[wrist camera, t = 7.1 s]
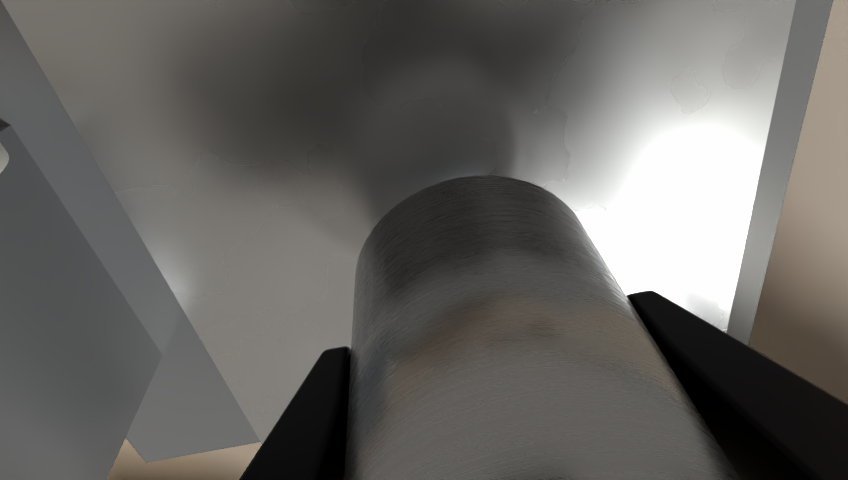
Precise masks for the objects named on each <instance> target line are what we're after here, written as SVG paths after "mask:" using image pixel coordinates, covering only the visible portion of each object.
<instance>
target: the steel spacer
mask: <svg viewBox="0 0 848 480" xmlns="http://www.w3.org/2000/svg"><path fill="white" fill-rule="evenodd" d="M344 480H741V479H740V477H739V476H738V474H737V473H736V471H735V469H734V468H733V466H732V465H731V463H730V461H729V460H728V458H727V456H726V455H725V453H724V452H723V450H722V448H721V447H720V445H719V444H718V442H717V440H716V439H715V437H714V436H713V434H712V432H711V431H710V429H709V428H708V426H707V424H706V423H705V421H704V420H703V418H702V416H701V415H700V413H699V411H698V410H697V408H696V407H695V405H694V403H693V402H692V400H691V399H690V397H689V395H688V394H687V392H686V391H685V389H684V387H683V386H682V384H681V383H680V381H679V379H678V378H677V376H676V374H675V373H674V371H673V370H672V368H671V366H670V365H669V363H668V362H667V360H666V358H665V357H664V355H663V354H662V352H661V350H660V349H659V347H658V346H657V344H656V342H655V341H654V339H653V338H652V336H651V334H650V333H649V331H648V329H647V328H646V326H645V325H644V323H643V321H642V320H641V318H640V317H639V315H638V313H637V312H636V310H635V309H634V307H633V305H632V304H631V302H630V301H629V299H628V297H627V296H626V294H625V293H624V291H623V289H622V288H621V286H620V284H619V283H618V281H617V280H616V278H615V276H614V275H613V273H612V272H611V270H610V268H609V267H608V265H607V264H606V262H605V260H604V259H603V257H602V256H601V254H600V252H599V251H598V249H597V248H596V246H595V244H594V243H593V241H592V239H591V238H590V236H589V235H588V233H587V231H586V230H585V228H584V227H583V225H582V223H581V222H580V220H579V219H578V217H577V216H576V214H575V213H574V212H573V211H572V210H571V209H570V208H569V207H568V205H567V204H566V203H564V202H563V201H562V200H561V199H559V198H558V197H557V196H556V195H554V194H553V193H551V192H549V191H547V190H545V189H544V188H542V187H540V186H537V185H535V184H532V183H530V182H527V181H523V180H519V179H515V178H511V177H503V176H494V175H487V176H469V177H461V178H456V179H452V180H448V181H444V182H440V183H438V184H435V185H432V186H430V187H427V188H424V189H423V190H421V191H419V192H417V193H415V194H413V195H411V196H409V197H408V198H406V199H405V200H403V201H402V202H400V203H399V204H397V205H396V206H395V207H394V208H393V209H391V210H390V211H389V212H388V213H387V214H386V215H385V216H384V217H383V218H382V219H381V220H380V221H379V222H378V223H377V225H376V226H375V227H374V228H373V230H372V231H371V233H370V234H369V236H368V237H367V239H366V241H365V243H364V245H363V247H362V249H361V252H360V254H359V258H358V262H357V265H356V273H355V286H354V304H353V323H352V341H351V359H350V377H349V396H348V414H347V432H346V450H345V468H344Z"/></svg>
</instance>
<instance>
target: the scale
mask: <svg viewBox="0 0 848 480" xmlns="http://www.w3.org/2000/svg"><path fill="white" fill-rule="evenodd" d="M832 3H833V0H796V3H795V8H794V13H793V18H792V22H791V27H790V32H789V37H788V41H787V46H786V51H785V56H784V60H783V65H782V70H781V75H780V79H779V84H778V89H777V94H776V99H775V103H774V108H773V113H772V118H771V122H770V127H769V132H768V137H767V141H766V146H765V151H764V156H763V161H762V165H761V170H760V175H759V180H758V184H757V189H756V194H755V199H754V203H753V208H752V213H751V218H750V223H749V227H748V232H747V237H746V242H745V246H744V251H743V256H742V261H741V265H740V270H739V275H738V280H737V284H736V289H735V294H734V299H733V304H732V308H731V313H730V318H729V323H728V327H727V332H726V333H727V334H729V335H731V336H732V337H734V338H736V339H737V340H739V341H741V342H743V343H744V344H746V345H748V343H749V339H750V335H751V331H752V327H753V323H754V319H755V315H756V311H757V307H758V303H759V298H760V294H761V290H762V286H763V282H764V278H765V274H766V270H767V266H768V262H769V258H770V254H771V250H772V246H773V242H774V238H775V234H776V230H777V226H778V222H779V217H780V213H781V209H782V205H783V201H784V197H785V193H786V189H787V185H788V181H789V177H790V173H791V169H792V165H793V161H794V157H795V153H796V149H797V145H798V141H799V136H800V132H801V128H802V124H803V120H804V116H805V112H806V108H807V104H808V100H809V96H810V92H811V88H812V84H813V80H814V76H815V72H816V68H817V64H818V60H819V55H820V51H821V47H822V43H823V39H824V35H825V31H826V27H827V23H828V19H829V15H830V11H831V7H832ZM125 438H126V439H127V440H128V441H129V443H130V444H131V445H132V446H133V448H134V449H135V450H136V451H137V452H138V454H139V455H140V456H141V457H142V458H143V460H144V461H145V462H146V463H147V462H152V461H158V460H163V459H169V458H174V457H180V456H185V455H191V454H196V453H202V452H207V451H213V450H218V449H224V448H229V447H235V446H240V445H246V444H251V443H257V442H260V440H259V438H258V437H257V435H256V433H255V432H254V430H253V428H252V426H251V425H250V423H249V421H248V420H247V418H246V416H245V415H244V413H243V411H242V409H241V408H240V406H239V404H238V403H237V401H236V399H235V397H234V396H233V394H232V392H231V391H230V389H229V387H228V386H227V384H226V382H225V380H224V379H223V377H222V375H221V374H220V372H219V370H218V369H217V367H216V365H215V363H214V362H213V360H212V358H211V357H210V355H209V353H208V352H207V350H206V348H205V346H204V345H203V343H202V341H201V340H200V338H199V336H198V334H197V333H196V331H195V329H194V328H193V326H192V324H191V323H190V321H189V319H188V317H187V316H186V314H185V312H184V311H183V309H182V307H181V306H180V304H179V302H178V300H177V299H176V297H175V295H174V294H173V292H172V290H171V289H170V287H169V285H168V283H167V282H166V280H165V278H164V277H163V275H162V273H161V271H160V270H159V268H158V266H157V265H156V263H155V261H154V260H153V258H152V256H151V254H150V253H149V251H148V249H147V248H146V246H145V244H144V243H143V241H142V239H141V237H140V236H139V234H138V232H137V231H136V229H135V227H134V226H133V224H132V222H131V220H130V219H129V217H128V215H127V214H126V212H125V210H124V209H123V207H122V205H121V203H120V202H119V200H118V198H117V197H116V195H115V193H114V191H113V190H112V188H111V186H110V185H109V183H108V181H107V180H106V178H105V176H104V174H103V173H102V171H101V169H100V168H99V166H98V164H97V163H96V161H95V159H94V157H93V156H92V154H91V152H90V151H89V149H88V147H87V146H86V144H85V142H84V140H83V139H82V137H81V135H80V134H79V132H78V130H77V128H76V127H75V125H74V123H73V122H72V120H71V118H70V117H69V115H68V113H67V111H66V110H65V108H64V106H63V105H62V103H61V101H60V100H59V98H58V96H57V94H56V93H55V91H54V89H53V88H52V86H51V84H50V83H49V81H48V79H47V77H46V76H45V74H44V72H43V71H42V69H41V67H40V65H39V64H38V62H37V60H36V59H35V57H34V55H33V54H32V52H31V50H30V48H29V47H28V45H27V43H26V42H25V40H24V38H23V37H22V35H21V33H20V31H19V30H18V28H17V26H16V25H15V23H14V21H13V20H12V18H11V16H10V14H9V13H8V11H7V9H6V8H5V6H4V4H3V3H2V1H1V0H0V480H106V479H107V477H108V475H109V472H110V470H111V468H112V466H113V464H114V461H115V459H116V457H117V455H118V453H119V450H120V448H121V446H122V444H123V442H124V439H125Z"/></svg>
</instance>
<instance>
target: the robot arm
mask: <svg viewBox="0 0 848 480" xmlns="http://www.w3.org/2000/svg"><path fill="white" fill-rule="evenodd" d="M627 297H628V299H629V301H630V302H631V304H632V305H633V307H634V309H635V310H636V312H637V313H638V315H639V317H640V318H641V320H642V321H643V323H644V325H645V326H646V328H647V329H648V331H649V333H650V334H651V336H652V338H653V339H654V341H655V342H656V344H657V346H658V347H659V349H660V350H661V352H662V354H663V355H664V357H665V358H666V360H667V362H668V363H669V365H670V366H671V368H672V370H673V371H674V373H675V374H676V376H677V378H678V379H679V381H680V383H681V384H682V386H683V387H684V389H685V391H686V392H687V394H688V395H689V397H690V399H691V400H692V402H693V403H694V405H695V407H696V408H697V410H698V411H699V413H700V415H701V416H702V418H703V420H704V421H705V423H706V424H707V426H708V428H709V429H710V431H711V432H712V434H713V436H714V437H715V439H716V440H717V442H718V444H719V445H720V447H721V448H722V450H723V452H724V453H725V455H726V456H727V458H728V460H729V461H730V463H731V465H732V466H733V468H734V469H735V471H736V473H737V474H738V476H739V477H740V479H741V480H848V404H847V403H845V402H844V401H842V400H840V399H839V398H837V397H835V396H833V395H832V394H830V393H828V392H827V391H825V390H823V389H821V388H820V387H818V386H816V385H815V384H813V383H811V382H809V381H808V380H806V379H804V378H803V377H801V376H799V375H797V374H796V373H794V372H792V371H791V370H789V369H787V368H785V367H784V366H782V365H780V364H779V363H777V362H775V361H773V360H772V359H770V358H768V357H767V356H765V355H763V354H761V353H760V352H758V351H756V350H755V349H753V348H751V347H749V346H748V345H746V344H744V343H743V342H741V341H739V340H737V339H736V338H734V337H732V336H731V335H729V334H727V333H725V332H724V331H722V330H720V329H719V328H717V327H715V326H713V325H712V324H710V323H708V322H707V321H705V320H703V319H701V318H700V317H698V316H696V315H695V314H693V313H691V312H689V311H688V310H686V309H684V308H683V307H681V306H679V305H677V304H676V303H674V302H672V301H671V300H669V299H667V298H665V297H664V296H662V295H660V294H659V293H657V292H655V291H652V290H646V291H641V292H636V293H630V294H628V295H627ZM350 359H351V349H350V348H349V347H347V346H342V347H337V348H332V349H327V350H325V351H324V352H322V354H321V355H320V357H319V358H318V360H317V361H316V363H315V364H314V366H313V367H312V369H311V370H310V372H309V374H308V375H307V377H306V378H305V380H304V381H303V383H302V384H301V386H300V387H299V389H298V390H297V392H296V393H295V395H294V397H293V398H292V400H291V401H290V403H289V404H288V406H287V407H286V409H285V410H284V412H283V413H282V415H281V417H280V418H279V420H278V421H277V423H276V424H275V426H274V427H273V429H272V430H271V432H270V433H269V435H268V436H267V438H266V440H265V441H264V443H263V444H262V446H261V447H260V449H259V450H258V452H257V453H256V455H255V456H254V458H253V460H252V461H251V463H250V464H249V466H248V467H247V469H246V470H245V472H244V473H243V475H242V476H241V478H240V479H239V480H344V468H345V450H346V432H347V414H348V396H349V377H350Z"/></svg>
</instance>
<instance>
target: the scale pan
mask: <svg viewBox="0 0 848 480" xmlns="http://www.w3.org/2000/svg"><path fill="white" fill-rule="evenodd" d="M1 1H2V3H3V4H4V6H5V8H6V9H7V11H8V13H9V14H10V16H11V18H12V20H13V21H14V23H15V25H16V26H17V28H18V30H19V31H20V33H21V35H22V37H23V38H24V40H25V42H26V43H27V45H28V47H29V48H30V50H31V52H32V54H33V55H34V57H35V59H36V60H37V62H38V64H39V65H40V67H41V69H42V71H43V72H44V74H45V76H46V77H47V79H48V81H49V83H50V84H51V86H52V88H53V89H54V91H55V93H56V94H57V96H58V98H59V100H60V101H61V103H62V105H63V106H64V108H65V110H66V111H67V113H68V115H69V117H70V118H71V120H72V122H73V123H74V125H75V127H76V128H77V130H78V132H79V134H80V135H81V137H82V139H83V140H84V142H85V144H86V146H87V147H88V149H89V151H90V152H91V154H92V156H93V157H94V159H95V161H96V163H97V164H98V166H99V168H100V169H101V171H102V173H103V174H104V176H105V178H106V180H107V181H108V183H109V185H110V186H111V188H112V190H113V191H114V193H115V195H116V197H117V198H118V200H119V202H120V203H121V205H122V207H123V209H124V210H125V212H126V214H127V215H128V217H129V219H130V220H131V222H132V224H133V226H134V227H135V229H136V231H137V232H138V234H139V236H140V237H141V239H142V241H143V243H144V244H145V246H146V248H147V249H148V251H149V253H150V254H151V256H152V258H153V260H154V261H155V263H156V265H157V266H158V268H159V270H160V271H161V273H162V275H163V277H164V278H165V280H166V282H167V283H168V285H169V287H170V289H171V290H172V292H173V294H174V295H175V297H176V299H177V300H178V302H179V304H180V306H181V307H182V309H183V311H184V312H185V314H186V316H187V317H188V319H189V321H190V323H191V324H192V326H193V328H194V329H195V331H196V333H197V334H198V336H199V338H200V340H201V341H202V343H203V345H204V346H205V348H206V350H207V352H208V353H209V355H210V357H211V358H212V360H213V362H214V363H215V365H216V367H217V369H218V370H219V372H220V374H221V375H222V377H223V379H224V380H225V382H226V384H227V386H228V387H229V389H230V391H231V392H232V394H233V396H234V397H235V399H236V401H237V403H238V404H239V406H240V408H241V409H242V411H243V413H244V415H245V416H246V418H247V420H248V421H249V423H250V425H251V426H252V428H253V430H254V432H255V433H256V435H257V437H258V438H259V440H260V442H261V443H262V444H263V443H264V441H265V440H266V438H267V436H268V435H269V433H270V432H271V430H272V429H273V427H274V426H275V424H276V423H277V421H278V420H279V418H280V417H281V415H282V413H283V412H284V410H285V409H286V407H287V406H288V404H289V403H290V401H291V400H292V398H293V397H294V395H295V393H296V392H297V390H298V389H299V387H300V386H301V384H302V383H303V381H304V380H305V378H306V377H307V375H308V374H309V372H310V370H311V369H312V367H313V366H314V364H315V363H316V361H317V360H318V358H319V357H320V355H321V354H322V352H324V351H325V350H327V349H332V348H337V347H342V346H347V347H349V348H350V349H351V341H352V323H353V304H354V286H355V273H356V265H357V262H358V258H359V254H360V252H361V249H362V247H363V245H364V243H365V241H366V239H367V237H368V236H369V234H370V233H371V231H372V230H373V228H374V227H375V226H376V225H377V223H378V222H379V221H380V220H381V219H382V218H383V217H384V216H385V215H386V214H387V213H388V212H389V211H390V210H391V209H393V208H394V207H395V206H396V205H397V204H399V203H400V202H402V201H403V200H405V199H406V198H408V197H409V196H411V195H413V194H415V193H417V192H419V191H421V190H423V189H424V188H427V187H430V186H432V185H435V184H438V183H440V182H444V181H448V180H452V179H456V178H461V177H469V176H487V175H494V176H503V177H511V178H515V179H519V180H523V181H527V182H530V183H532V184H535V185H537V186H540V187H542V188H544V189H545V190H547V191H549V192H551V193H553V194H554V195H556V196H557V197H558V198H559V199H561V200H562V201H563V202H564V203H566V204H567V205H568V207H569V208H570V209H571V210H572V211H573V212H574V213H575V214H576V216H577V217H578V219H579V220H580V222H581V223H582V225H583V227H584V228H585V230H586V231H587V233H588V235H589V236H590V238H591V239H592V241H593V243H594V244H595V246H596V248H597V249H598V251H599V252H600V254H601V256H602V257H603V259H604V260H605V262H606V264H607V265H608V267H609V268H610V270H611V272H612V273H613V275H614V276H615V278H616V280H617V281H618V283H619V284H620V286H621V288H622V289H623V291H624V293H625V294H626V296H627V295H628V294H630V293H636V292H641V291H646V290H652V291H655V292H657V293H659V294H660V295H662V296H664V297H665V298H667V299H669V300H671V301H672V302H674V303H676V304H677V305H679V306H681V307H683V308H684V309H686V310H688V311H689V312H691V313H693V314H695V315H696V316H698V317H700V318H701V319H703V320H705V321H707V322H708V323H710V324H712V325H713V326H715V327H717V328H719V329H720V330H722V331H724V332H725V333H726V332H727V327H728V323H729V318H730V313H731V308H732V304H733V299H734V294H735V289H736V284H737V280H738V275H739V270H740V265H741V261H742V256H743V251H744V246H745V242H746V237H747V232H748V227H749V223H750V218H751V213H752V208H753V203H754V199H755V194H756V189H757V184H758V180H759V175H760V170H761V165H762V161H763V156H764V151H765V146H766V141H767V137H768V132H769V127H770V122H771V118H772V113H773V108H774V103H775V99H776V94H777V89H778V84H779V79H780V75H781V70H782V65H783V60H784V56H785V51H786V46H787V41H788V37H789V32H790V27H791V22H792V18H793V13H794V8H795V3H796V0H1Z"/></svg>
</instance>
